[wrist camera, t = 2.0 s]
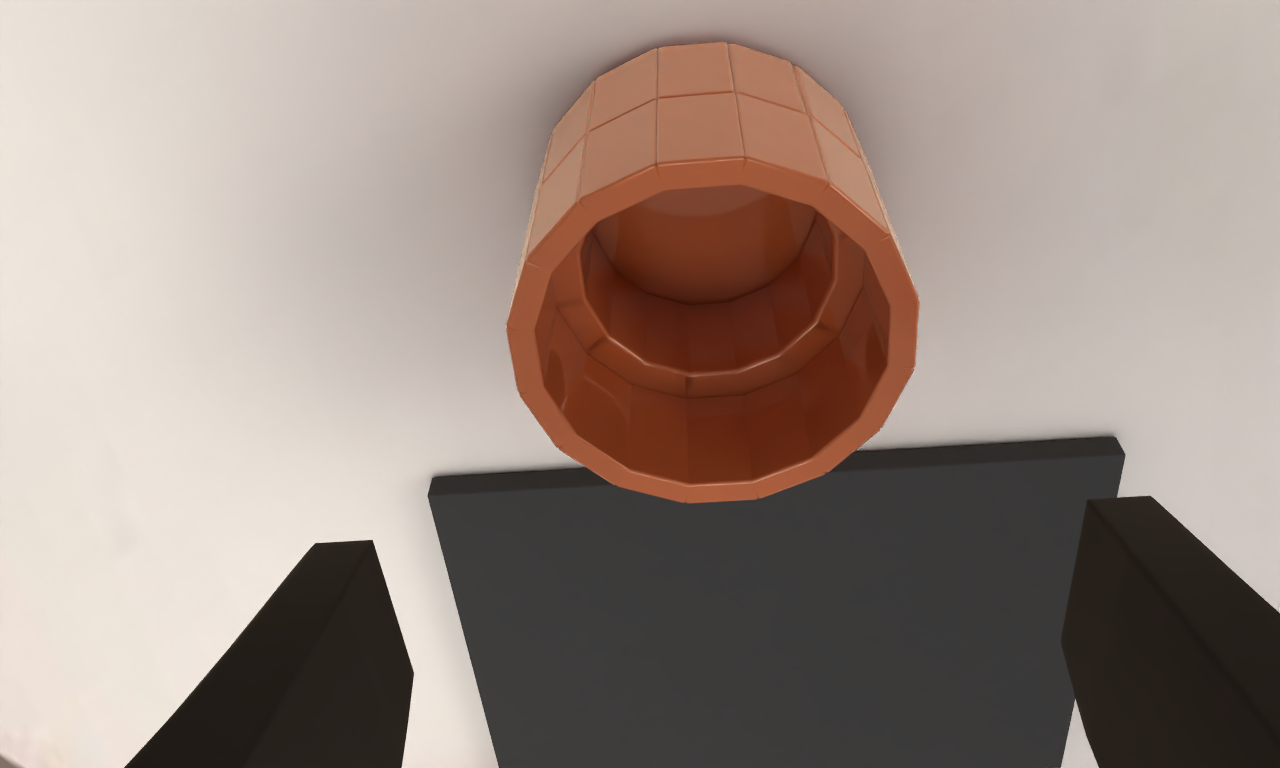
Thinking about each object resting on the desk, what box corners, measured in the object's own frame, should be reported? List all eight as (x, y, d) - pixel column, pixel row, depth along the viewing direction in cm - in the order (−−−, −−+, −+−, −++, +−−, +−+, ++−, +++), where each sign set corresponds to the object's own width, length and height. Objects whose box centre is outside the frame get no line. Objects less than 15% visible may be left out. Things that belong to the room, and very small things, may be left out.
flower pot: (868, 17, 17) (930, 142, 13) (859, 318, 21) (908, 492, 17) (518, 47, 18) (476, 177, 14) (563, 337, 21) (539, 513, 17)
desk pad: (1116, 435, 22) (1126, 454, 22) (1054, 748, 28) (1061, 768, 27) (431, 476, 23) (426, 495, 23) (507, 771, 29) (504, 791, 28)
